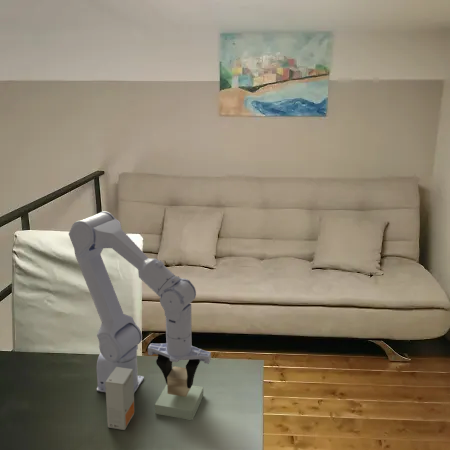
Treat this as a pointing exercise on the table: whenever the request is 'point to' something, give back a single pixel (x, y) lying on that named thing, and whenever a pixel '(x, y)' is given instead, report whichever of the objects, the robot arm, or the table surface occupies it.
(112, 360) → the robot arm
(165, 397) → the sage base
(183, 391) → the maple cube
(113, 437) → the table surface
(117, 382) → the skincare box
